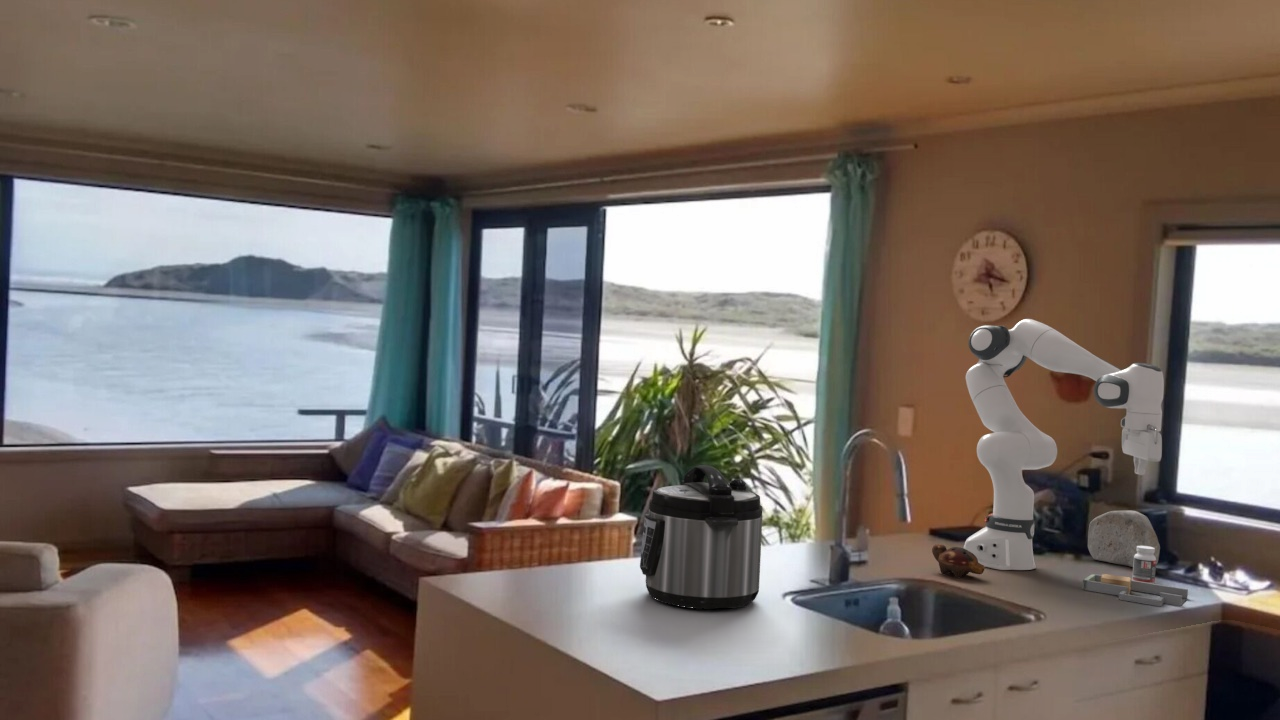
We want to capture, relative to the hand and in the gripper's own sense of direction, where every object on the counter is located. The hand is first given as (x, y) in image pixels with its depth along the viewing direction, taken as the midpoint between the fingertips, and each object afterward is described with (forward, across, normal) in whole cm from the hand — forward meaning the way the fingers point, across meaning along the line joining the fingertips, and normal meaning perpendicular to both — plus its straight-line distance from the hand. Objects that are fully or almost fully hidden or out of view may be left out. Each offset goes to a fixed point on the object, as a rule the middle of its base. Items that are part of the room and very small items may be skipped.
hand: (1139, 474), depth 307 cm
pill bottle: (+31, +9, -6) cm, 33 cm away
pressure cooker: (+31, -48, +116) cm, 130 cm away
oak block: (+31, -6, +6) cm, 33 cm away
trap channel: (+31, -9, +3) cm, 33 cm away
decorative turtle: (+31, +1, +46) cm, 56 cm away
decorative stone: (+31, +35, -9) cm, 48 cm away
